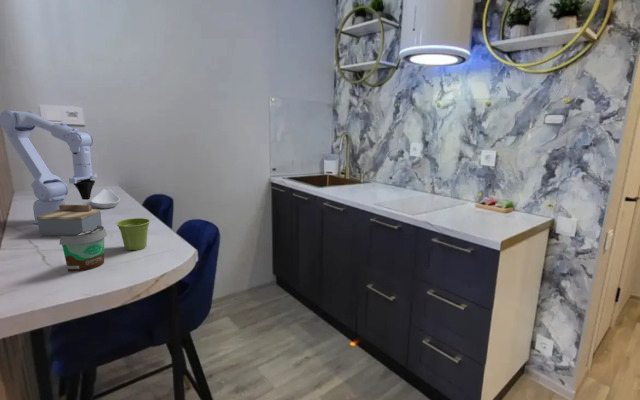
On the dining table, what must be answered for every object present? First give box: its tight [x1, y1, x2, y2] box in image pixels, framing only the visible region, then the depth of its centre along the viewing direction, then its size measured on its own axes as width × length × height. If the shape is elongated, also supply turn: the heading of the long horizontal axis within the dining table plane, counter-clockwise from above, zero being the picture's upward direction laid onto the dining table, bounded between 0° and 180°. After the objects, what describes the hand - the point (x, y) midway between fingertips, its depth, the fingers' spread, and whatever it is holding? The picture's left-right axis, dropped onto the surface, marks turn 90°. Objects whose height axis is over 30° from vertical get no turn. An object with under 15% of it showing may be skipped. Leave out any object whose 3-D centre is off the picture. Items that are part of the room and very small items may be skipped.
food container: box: [59, 225, 108, 272], centre depth 92 cm, size 12×6×10 cm, turn 168°
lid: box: [38, 204, 101, 220], centre depth 120 cm, size 14×12×3 cm
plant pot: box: [115, 217, 151, 251], centre depth 107 cm, size 9×9×9 cm
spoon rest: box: [90, 188, 121, 209], centre depth 164 cm, size 24×12×7 cm, turn 30°
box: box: [37, 211, 103, 237], centre depth 121 cm, size 14×12×6 cm
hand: (86, 199), depth 130 cm, fingers closed
